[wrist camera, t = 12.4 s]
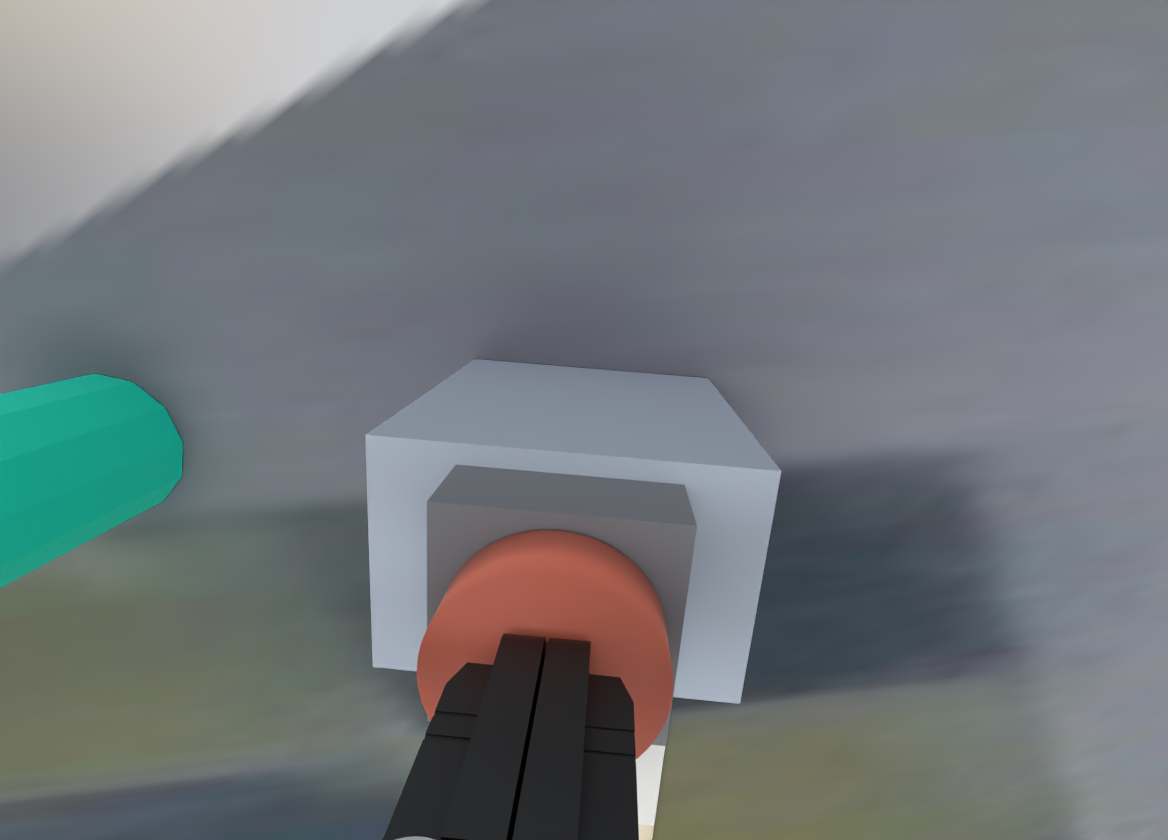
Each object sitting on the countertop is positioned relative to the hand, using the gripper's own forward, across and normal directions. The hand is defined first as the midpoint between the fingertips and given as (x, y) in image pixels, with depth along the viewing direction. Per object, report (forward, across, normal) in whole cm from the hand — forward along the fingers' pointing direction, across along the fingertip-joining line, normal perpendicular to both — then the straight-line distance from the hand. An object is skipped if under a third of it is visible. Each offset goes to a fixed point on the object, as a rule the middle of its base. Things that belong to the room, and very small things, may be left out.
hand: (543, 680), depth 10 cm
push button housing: (+14, 0, 0) cm, 14 cm away
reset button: (+3, 0, 0) cm, 3 cm away
